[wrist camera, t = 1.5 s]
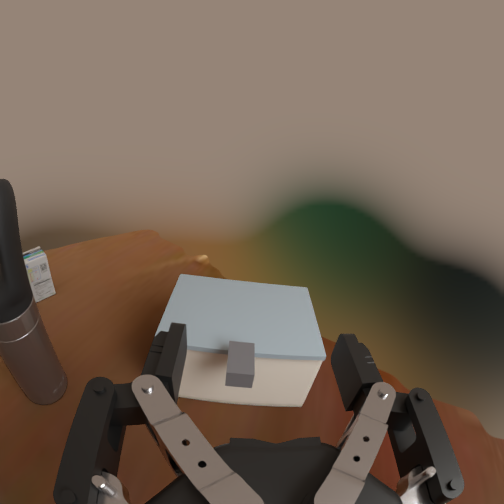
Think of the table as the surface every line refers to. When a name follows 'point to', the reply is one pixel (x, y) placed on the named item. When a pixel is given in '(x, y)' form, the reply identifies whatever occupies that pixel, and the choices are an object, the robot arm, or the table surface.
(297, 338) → the lid
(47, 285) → the light bulb box
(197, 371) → the carton
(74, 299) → the table surface
